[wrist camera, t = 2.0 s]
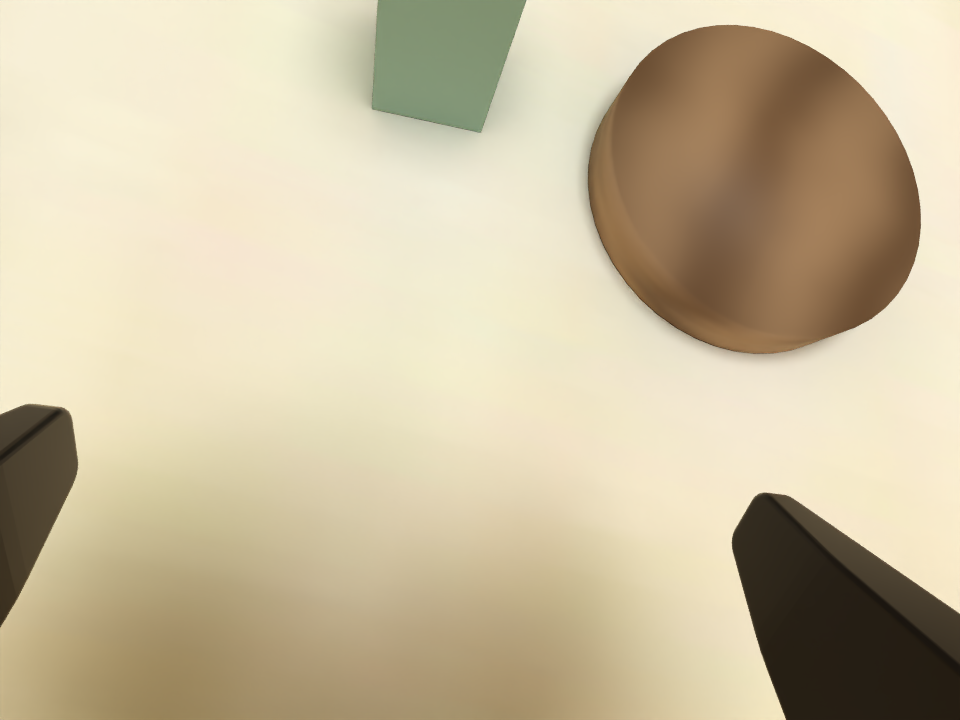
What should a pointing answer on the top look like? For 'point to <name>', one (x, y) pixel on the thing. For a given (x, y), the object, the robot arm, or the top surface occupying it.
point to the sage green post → (442, 57)
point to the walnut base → (753, 191)
